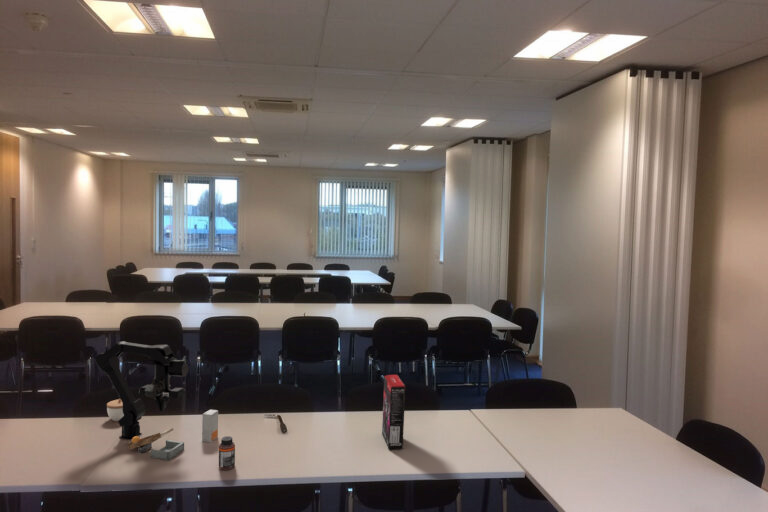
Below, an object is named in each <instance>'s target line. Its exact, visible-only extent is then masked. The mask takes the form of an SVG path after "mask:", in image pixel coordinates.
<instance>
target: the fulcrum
mask: <svg viewBox="0 0 768 512" xmlns="http://www.w3.org/2000/svg"><path fill="white" fill-rule="evenodd" d="M152 443H153V442H152ZM152 443H149V444H146V445H143V446H140V447H137V450H138V451H137V452H138V454H141V455H142V454H143V453H145V452H147V451H148V450H151V449H153V448H152V447H153V446H152V445H153V444H152Z"/></svg>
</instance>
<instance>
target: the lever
mask: <svg viewBox="0 0 768 512" xmlns="http://www.w3.org/2000/svg"><path fill="white" fill-rule="evenodd" d="M172 431H174V428H169V429H166V430H165V431H163V432H157V433H155V434H151V435H148V436H146V437H141V438H140V441H138V442H135V443H132V441H130V442H129V443H127V448H128V450H133V449H136V448H138V447H140V446H143V445H146V444H149V443H155V442H156V441H158V440H159V439H162V438H163V437H164V436H165V435H167V434H169V433H171V432H172Z"/></svg>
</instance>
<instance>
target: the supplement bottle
mask: <svg viewBox="0 0 768 512" xmlns="http://www.w3.org/2000/svg"><path fill="white" fill-rule="evenodd" d="M220 439H221V442H220V444H219V445H218V469H219V470H222V471H228V470H232V469H234V468H235V466H236V464H235V463H236V444H235V442H233V437H232V436H227V435H226V436H223V437H221V438H220Z"/></svg>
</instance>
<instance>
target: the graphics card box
mask: <svg viewBox="0 0 768 512" xmlns="http://www.w3.org/2000/svg"><path fill="white" fill-rule="evenodd" d="M383 379H384V381H383V399H382V401H383V403H382V404H383V405H382V424H381V425H382V427H381V436H382V437H383V439H384V442H385V444H386V447H387V449H388V450H397V449H403V448H404V430H405V429H404V426H405V406H406V405H405V404H406V403H405V402H406V399H405V398H406V385H405V383H404V382H403V380H402V379H401V378H400V377H399V375H398V374H387V375H384V378H383Z"/></svg>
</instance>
